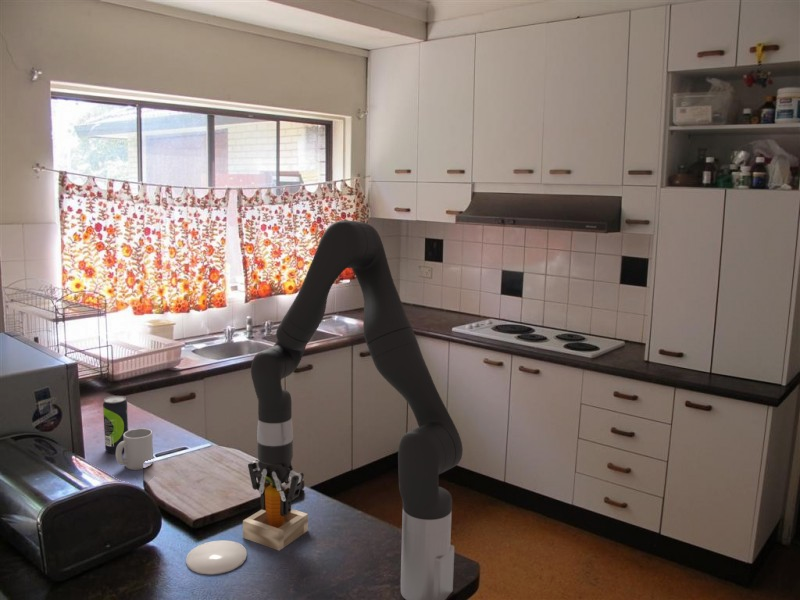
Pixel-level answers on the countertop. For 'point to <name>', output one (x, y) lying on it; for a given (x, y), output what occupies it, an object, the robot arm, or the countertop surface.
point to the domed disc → (216, 557)
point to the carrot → (273, 505)
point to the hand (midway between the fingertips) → (275, 511)
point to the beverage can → (115, 421)
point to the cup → (135, 448)
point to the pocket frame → (275, 529)
